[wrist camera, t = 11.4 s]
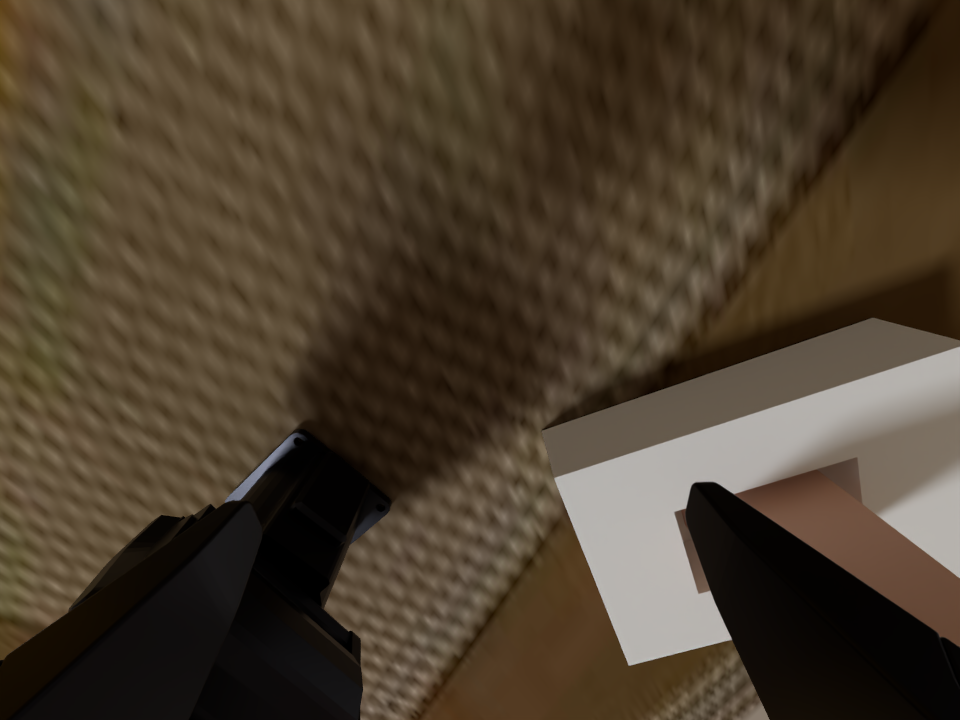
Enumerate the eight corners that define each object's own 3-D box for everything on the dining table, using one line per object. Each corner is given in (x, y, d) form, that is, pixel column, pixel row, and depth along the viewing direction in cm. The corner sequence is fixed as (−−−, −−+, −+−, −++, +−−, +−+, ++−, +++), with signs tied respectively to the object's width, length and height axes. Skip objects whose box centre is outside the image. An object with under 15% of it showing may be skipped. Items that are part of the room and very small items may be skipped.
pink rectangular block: (685, 524, 22) (842, 766, 12) (672, 479, 21) (831, 702, 11) (793, 493, 21) (1049, 723, 11) (784, 445, 20) (1055, 651, 10)
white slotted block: (606, 596, 25) (629, 665, 21) (541, 430, 21) (554, 477, 17) (890, 517, 22) (972, 578, 19) (872, 317, 19) (970, 343, 15)
